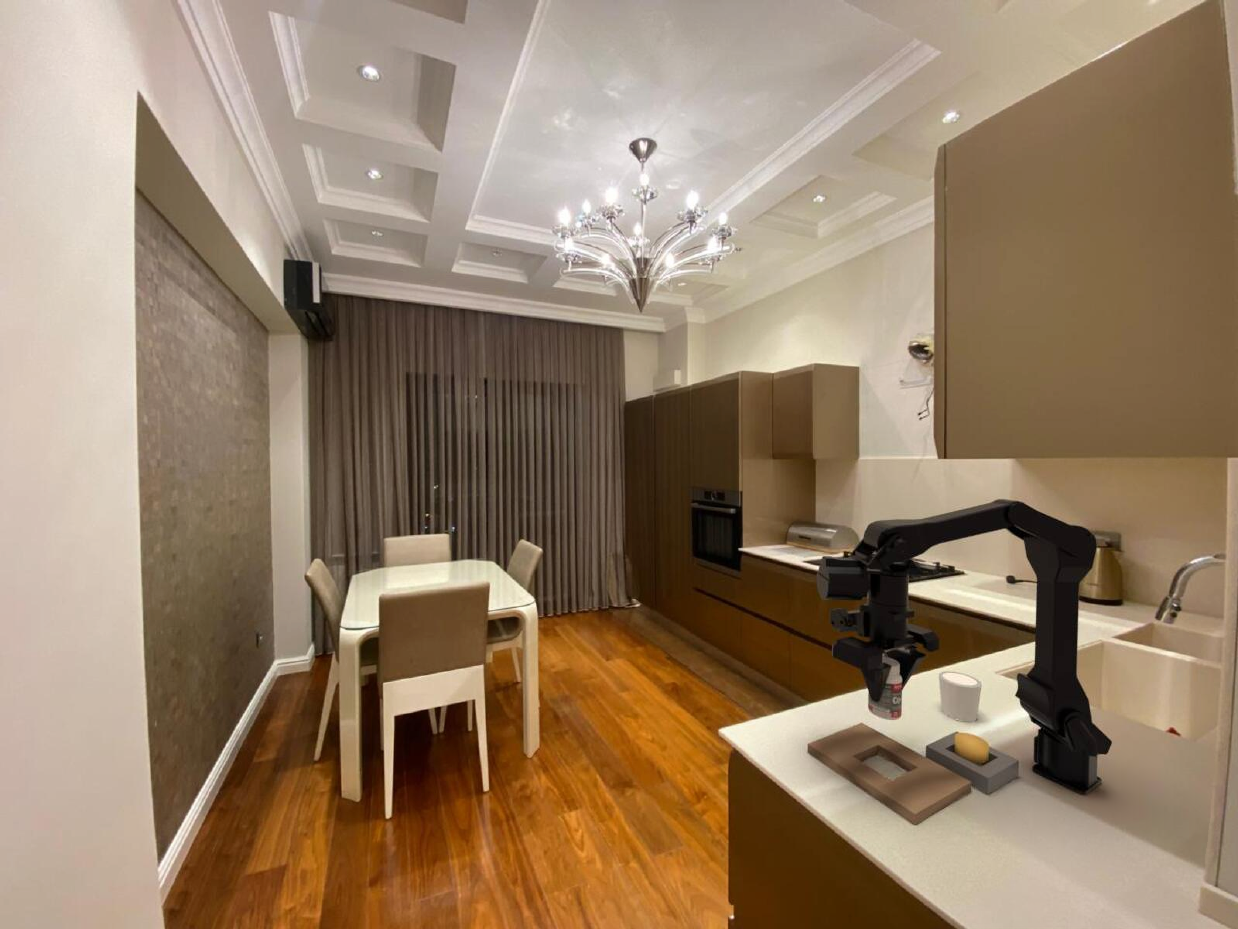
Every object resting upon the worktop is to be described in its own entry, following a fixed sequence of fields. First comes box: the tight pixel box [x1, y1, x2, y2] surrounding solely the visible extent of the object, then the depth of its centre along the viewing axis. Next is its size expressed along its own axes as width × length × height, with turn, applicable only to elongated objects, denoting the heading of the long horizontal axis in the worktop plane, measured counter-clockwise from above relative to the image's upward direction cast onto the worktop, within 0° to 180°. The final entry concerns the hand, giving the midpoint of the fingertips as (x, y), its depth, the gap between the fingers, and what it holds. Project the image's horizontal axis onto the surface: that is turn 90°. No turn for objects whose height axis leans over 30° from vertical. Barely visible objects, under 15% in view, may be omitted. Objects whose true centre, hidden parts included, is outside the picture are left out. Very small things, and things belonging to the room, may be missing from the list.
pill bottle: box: [867, 656, 903, 721], centre depth 78 cm, size 5×5×8 cm
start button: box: [955, 732, 990, 766], centre depth 78 cm, size 4×4×2 cm
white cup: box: [938, 670, 983, 723], centre depth 94 cm, size 7×7×7 cm
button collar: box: [925, 731, 1020, 796], centre depth 78 cm, size 9×9×2 cm
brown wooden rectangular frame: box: [806, 722, 972, 826], centre depth 77 cm, size 18×14×2 cm
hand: (885, 697), depth 78 cm, fingers closed on pill bottle, 5 cm apart
